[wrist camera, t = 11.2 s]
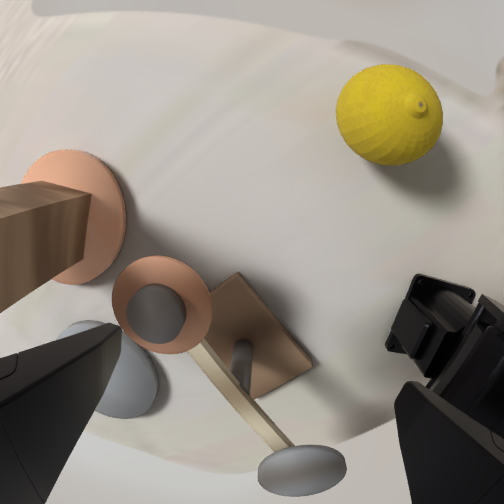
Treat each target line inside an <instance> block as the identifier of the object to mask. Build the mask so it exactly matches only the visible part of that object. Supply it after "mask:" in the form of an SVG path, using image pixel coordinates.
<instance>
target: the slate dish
mask: <svg viewBox="0 0 504 504" xmlns="http://www.w3.org/2000/svg"><path fill="white" fill-rule="evenodd" d="M103 324H106V323H102V322H99V321H90V320H86V321H79V322H76V323H74V324H72V325H71V326H69V327H68V328H67V329H66V330H65V331H64V332H63V333H62V334H61V335H60V336H59V337H58V339H57V340H59V339H62V338H65V337H67V336H70V335H73V334H76V333H79V332H82V331H85V330H88V329H91V328H94V327H97V326H100V325H103ZM157 390H158V378H157V374H156V370H155V368H154V366H153V363H152V362H151V360H150V358H149V357H148V355H147V354H146V353H145V351H144V350H143V349H142V348H141V347H140V345H138V344H137V343H136V342H134V341H133V340H132V339H131V338H130V337H129V336H128V335H127V334H125V333H124V332H122V344H121V354H120V357H119V359H118V362H117V364H116V366H115V369H114V371H113V373H112V376H111V378H110V380H109V383H108V385H107V388H106V390H105V392H104V394H103V396H102V398H101V400H100V402H99V404H98V405H97V407H96V409H95V411H96V412H99V413H101V414H103V415H106V416H109V417H113V418H120V419H129V418H135V417H138V416H141V415H142V414H144V413H146V412H147V411H148V410H149V408H150V407H151V405H152V403H153V401H154V398H155V396H156V394H157Z"/></svg>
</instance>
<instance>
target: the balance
mask: <svg viewBox="0 0 504 504" xmlns="http://www.w3.org/2000/svg"><path fill="white" fill-rule="evenodd" d="M112 307H113V311H114V314H115V317H116V319H117V321H118V323H119V325H120V326H121V328H122V330H123V331H124V332H125V333H126V334H127V335H128V336H129V337H130V338H131V339H132V340H133V341H134V342H136V343H137V344H138V345H140V346H142V347H144V348H146V349H148V350H150V351H153V352H157V353H161V354H178V353H183V352H186V351H187V352H188V353H189V354H190V356H191V357H192V358H193V360H194V361H195V362H196V363H197V365H198V366H199V367H200V368H201V370H202V371H203V372H204V373H205V374H206V376H207V377H208V378H209V379H210V381H211V382H212V383H213V384H214V385H215V387H216V388H217V389H218V390H219V391H220V393H221V394H222V395H223V396H224V397H225V398H226V400H227V401H228V402H229V403H230V404H231V405H232V406H233V408H234V409H235V410H236V411H237V412H238V413H239V414H240V416H241V417H242V418H243V419H244V420H245V421H246V422H247V423H248V424H249V426H250V427H251V428H252V429H253V430H254V431H255V432H256V433H257V434H258V435H259V436H260V437H261V438H262V440H263V441H264V442H265V443H266V444H267V445H268V446H269V447H270V448H271V449H272V450H273V451H274V452H275V453H272V454H271V455H269V456H268V457H266V458H265V459H264V460H263V461H262V462H261V463H260V465H259V467H258V482H259V484H260V485H261V486H262V487H263V488H264V489H266V490H267V491H269V492H271V493H274V494H277V495H282V496H291V497H299V496H308V495H313V494H317V493H320V492H323V491H326V490H328V489H330V488H331V487H333V486H335V485H336V484H338V483H339V482H340V481H341V480H342V479H343V478H344V476H345V474H346V471H347V467H346V463H345V458H344V456H343V455H342V454H341V453H340V452H339V451H337V450H335V449H333V448H330V447H327V446H321V445H300V446H295V445H294V444H293V443H292V442H291V441H290V440H289V439H288V438H287V437H286V436H285V435H284V433H283V432H282V431H281V430H280V429H279V428H278V427H277V426H276V425H275V423H274V422H273V421H272V420H271V419H270V418H269V417H268V416H267V414H266V413H265V412H264V411H263V410H262V409H261V408H260V406H259V405H258V404H257V403H256V402H255V401H254V399H256V398H258V397H260V396H262V395H264V394H265V393H267V392H269V391H271V390H273V389H275V388H276V387H278V386H280V385H282V384H284V383H285V382H287V381H289V380H291V379H293V378H294V377H296V376H298V375H299V374H301V373H303V372H305V371H306V370H308V369H310V368H311V367H313V365H312V361H311V358H310V357H309V356H308V355H307V354H306V353H305V351H304V350H303V349H302V348H301V347H300V345H299V344H298V343H297V342H296V341H295V340H294V338H293V337H292V336H291V335H290V334H289V332H288V331H287V330H286V329H285V328H284V327H283V325H282V324H281V323H280V322H279V321H278V319H277V318H276V317H275V316H274V315H273V313H272V312H271V311H270V310H269V309H268V307H267V306H266V305H265V304H264V303H263V301H262V300H261V299H260V298H259V297H258V295H257V294H256V293H255V292H254V291H253V289H252V288H251V287H250V286H249V285H248V283H247V282H246V281H245V280H244V278H243V277H242V276H241V275H240V274H239V272H237V273H235V274H234V275H233V276H231V277H230V278H229V279H227V280H226V281H224V282H223V283H222V284H220V285H219V286H217V287H216V288H215V289H213V290H212V291H211V292H209V290H208V288H207V286H206V284H205V282H204V281H203V280H202V278H201V277H200V276H199V275H198V274H197V273H196V272H195V271H194V270H193V269H192V268H191V267H189V266H188V265H186V264H185V263H183V262H181V261H179V260H177V259H174V258H171V257H167V256H158V255H156V256H147V257H143V258H140V259H138V260H136V261H134V262H133V263H131V264H130V265H129V266H128V267H126V268H125V269H124V270H123V271H122V272H121V273H120V275H119V276H118V278H117V279H116V281H115V284H114V287H113V291H112Z"/></svg>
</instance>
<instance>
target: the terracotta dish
mask: <svg viewBox="0 0 504 504" xmlns="http://www.w3.org/2000/svg"><path fill="white" fill-rule="evenodd" d="M36 181H45V182H49V183H53V184H57V185H61V186H65V187H69V188H72V189H76V190H80V191H84V192H88V193H92V196H91V202H90V209H89V216H88V223H87V231H86V239H85V249H84V259H83V260H81V261H79V262H78V263H76V264H75V265H73V266H71V267H70V268H68V269H66V270H65V271H63V272H62V273H60V274H58V275H57V276H55V277H54V278H52V279H53V280H55V281H57V282H60V283H63V284H69V285H77V284H83V283H86V282H88V281H91V280H92V279H94V278H96V277H97V276H99V275H100V274H101V273H103V272H104V271H105V270H106V269H107V268H109V266H110V265H111V264H112V263H113V262H114V260H115V259H116V257H117V256H118V254H119V252H120V250H121V247H122V244H123V241H124V237H125V232H126V209H125V202H124V198H123V194H122V192H121V189H120V186H119V184H118V182H117V180H116V178H115V177H114V175H113V174H112V172H111V171H110V170H109V168H108V167H107V166H106V165H105V164H104V163H103V162H102V161H100V160H99V159H98V158H96V157H95V156H93V155H91V154H89V153H87V152H83V151H79V150H57V151H53V152H50V153H48V154H46V155H44V156H42V157H41V158H39V159H38V160H37V161H36V162H35V163H34V164H33V165H32V166H31V167H30V168H29V170H28V171H27V173H26V174H25V176H24V178H23V180H22V182H21V184H24V183H30V182H36Z"/></svg>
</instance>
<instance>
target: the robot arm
mask: <svg viewBox="0 0 504 504" xmlns="http://www.w3.org/2000/svg"><path fill="white" fill-rule="evenodd" d="M419 279H421V281H420V282H419V283H417V282H418V280H419ZM469 294H470V295H469ZM474 297H475V291H474V290H473V289H471V288H469V287H465V286H462V285H458V284H455V283H451V282H448V281H444V280H441V279H437V278H434V277H430V276H427V275H423V274H416V275H415V276H414V278H413V280H412V282H411V285H410V287H409V290H408V292H407V295H406V297H405V299H404V300H403V302H402V304H401V307H400V309H399V311H398V314H397V316H396V318H395V321H394V323H393V325H392V327H391V332H390V334H389V337H388V339H387V341H386V343H385V347H386V349H387V350H388V351H390V352H396V353H403V354H408V356H409V357H410V359H413V360H414V362H415V363H416V365H417V366H418V368H419V369H420V371H421V373H422V374H423V376H424V377H426V378H430V381H429V383H428V384H427V385H426V387H425V386H423V385H422V384H420V383H419V382H414V381H408V382H406V383H405V384H404V386H403V388H402V389H401V391H400V393H399V394H398V396H397V398H396V400H395V403H394V409H395V415H396V422H397V429H398V437H399V444H400V449H401V453H402V457H403V462H404V466H405V471H406V475H407V480H408V485H409V490H410V495H411V500H412V504H504V306H503V305H502V304H500V303H498V302H496V301H494V300H493V299H491V298H489V297H487V296H485V295H484V294H481V296H480V298H479V300H478V302H479V303H478V305H477V307H476V308H475V307H473V306H472V305H471V304H472V302H473V299H474ZM121 344H122V329H121V327H120V326H118V325H115V324H112V323H106V324H103V325H100V326H97V327H94V328H91V329H88V330H85V331H82V332H79V333H76V334H73V335H70V336H67V337H65V338H62V339H59V340H55V341H52V342H49V343H46V344H43V345H40V346H37V347H34V348H31V349H28V350H25V351H22V352H19V353H18V354H17V353H15V354H12V355H9V356H6V357H3V358H0V504H45V503H46V501H47V498H48V496H49V495H50V493H51V491H52V489H53V487H54V485H55V483H56V481H57V479H58V477H59V475H60V473H61V471H62V469H63V467H64V465H65V463H66V462H67V460H68V458H69V456H70V454H71V452H72V450H73V449H74V447H75V445H76V443H77V441H78V439H79V438H80V436H81V434H82V432H83V430H84V428H85V427H86V425H87V423H88V421H89V420H90V418H91V416H92V414H93V412H94V411H95V409H96V407H97V405H98V404H99V402H100V400H101V398H102V396H103V394H104V392H105V390H106V388H107V385H108V383H109V380H110V378H111V376H112V373H113V371H114V369H115V366H116V364H117V362H118V359H119V357H120V354H121ZM391 344H393V345H392V346H390V345H391Z"/></svg>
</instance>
